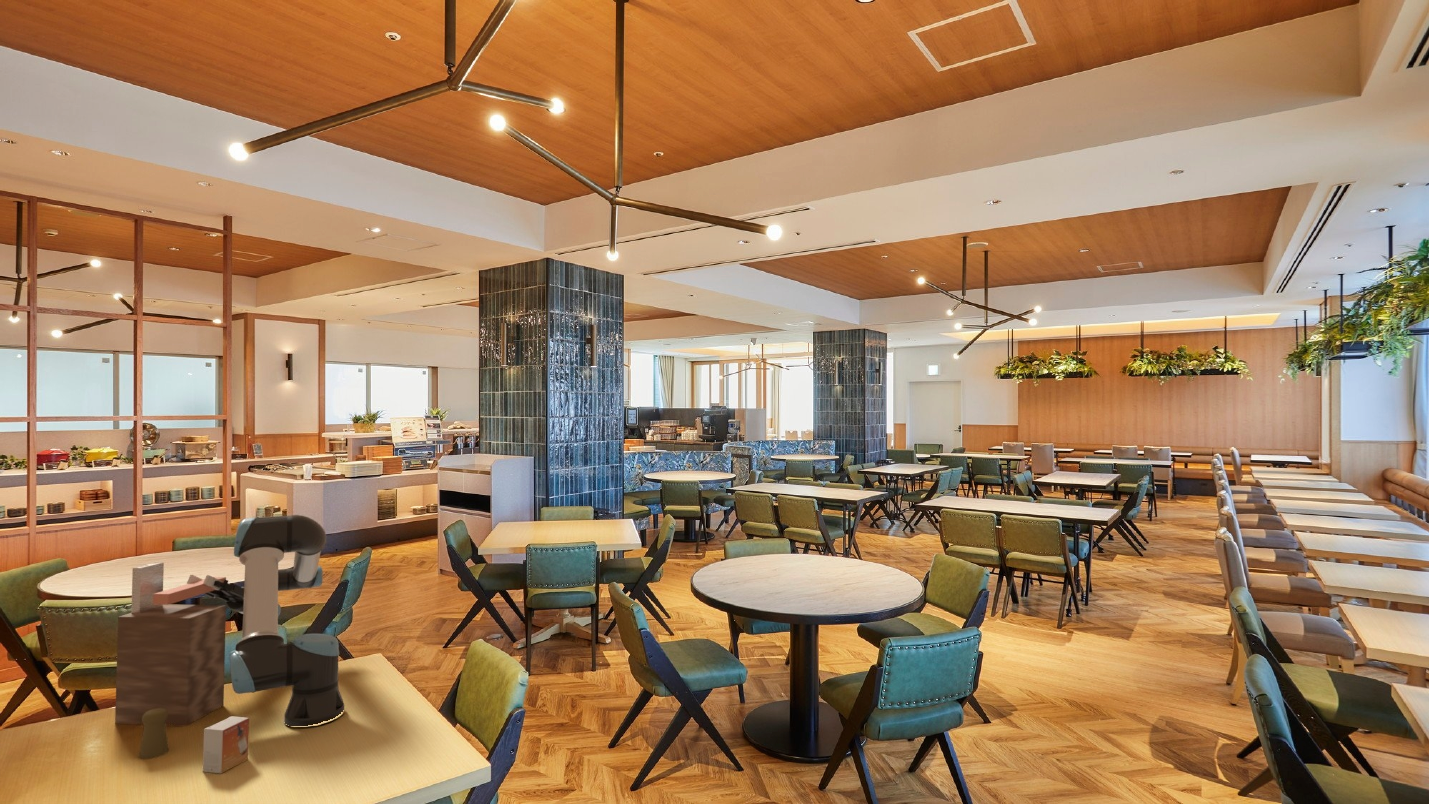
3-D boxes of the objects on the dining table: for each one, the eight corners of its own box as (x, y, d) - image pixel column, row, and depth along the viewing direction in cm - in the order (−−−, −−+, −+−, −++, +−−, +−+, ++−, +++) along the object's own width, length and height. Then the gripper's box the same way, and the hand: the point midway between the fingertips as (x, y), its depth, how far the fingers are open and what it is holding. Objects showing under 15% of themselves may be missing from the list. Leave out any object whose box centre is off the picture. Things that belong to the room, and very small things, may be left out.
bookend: (154, 605, 212) (155, 562, 212) (162, 606, 212) (163, 562, 212) (131, 613, 204) (132, 567, 204) (139, 613, 204) (140, 568, 204)
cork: (174, 750, 183) (175, 707, 184) (149, 760, 178) (150, 716, 178) (158, 746, 185) (159, 704, 186) (133, 756, 180) (134, 713, 180)
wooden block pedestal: (156, 703, 213) (159, 604, 214) (223, 705, 212) (226, 605, 213) (115, 723, 199) (118, 616, 200) (186, 725, 198) (189, 618, 199)
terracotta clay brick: (212, 586, 223) (212, 576, 223) (225, 586, 223) (226, 577, 223) (153, 604, 201) (153, 593, 201) (168, 604, 201) (168, 594, 201)
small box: (221, 774, 171) (222, 730, 171) (201, 772, 172) (202, 728, 172) (249, 759, 179) (250, 717, 179) (230, 757, 180) (231, 715, 180)
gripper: (266, 613, 232) (220, 592, 212) (214, 611, 233) (164, 591, 213) (274, 590, 236) (230, 567, 216) (223, 589, 237) (175, 566, 217)
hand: (197, 579), depth 214 cm, fingers closed on terracotta clay brick, 4 cm apart
